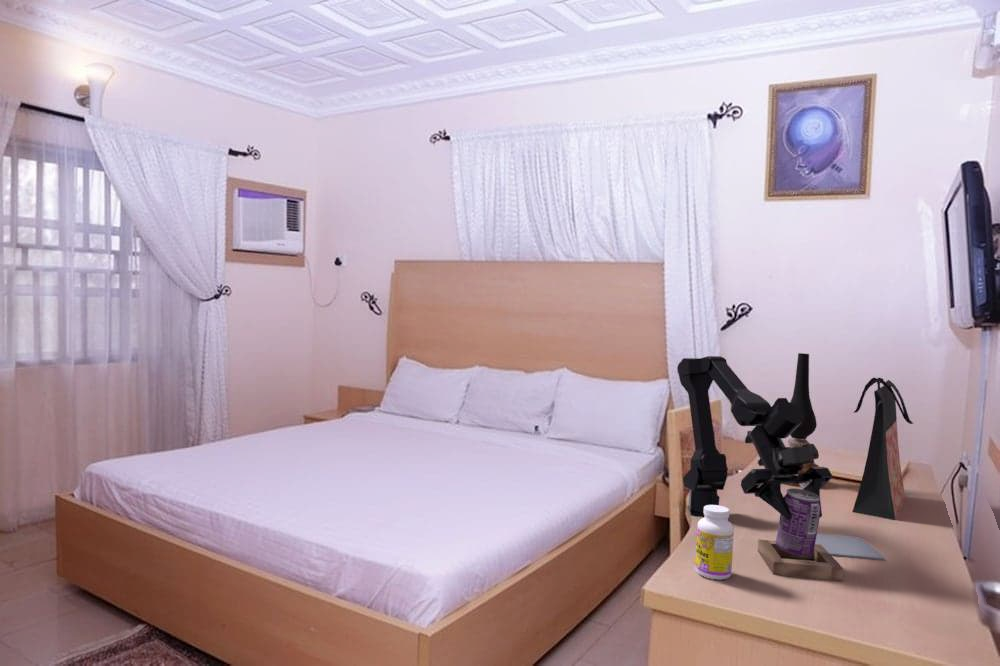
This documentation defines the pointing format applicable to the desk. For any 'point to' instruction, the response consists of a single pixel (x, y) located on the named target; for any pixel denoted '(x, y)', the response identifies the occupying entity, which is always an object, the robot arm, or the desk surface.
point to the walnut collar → (800, 562)
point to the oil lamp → (804, 404)
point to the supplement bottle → (714, 543)
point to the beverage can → (799, 523)
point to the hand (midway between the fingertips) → (805, 518)
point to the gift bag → (882, 457)
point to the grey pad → (847, 546)
